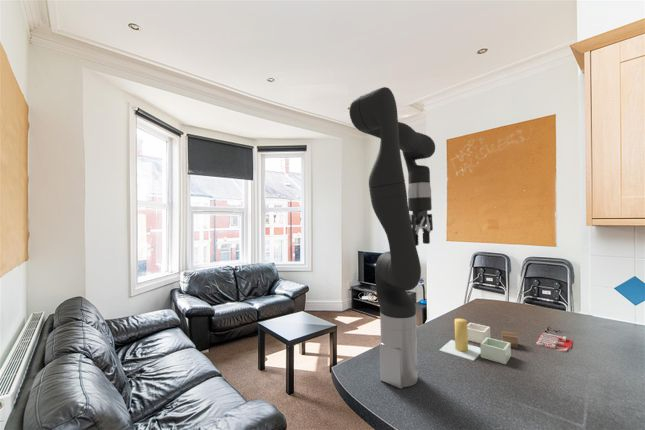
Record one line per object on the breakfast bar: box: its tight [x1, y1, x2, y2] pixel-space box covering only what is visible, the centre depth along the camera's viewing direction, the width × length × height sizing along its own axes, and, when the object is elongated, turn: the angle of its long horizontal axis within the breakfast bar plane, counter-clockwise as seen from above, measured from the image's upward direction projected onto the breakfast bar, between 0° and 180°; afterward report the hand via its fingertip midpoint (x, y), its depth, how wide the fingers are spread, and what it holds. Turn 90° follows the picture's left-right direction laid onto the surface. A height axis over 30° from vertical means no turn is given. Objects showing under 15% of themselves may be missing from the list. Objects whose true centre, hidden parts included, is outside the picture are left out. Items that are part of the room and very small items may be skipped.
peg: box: [454, 318, 469, 352], centre depth 91 cm, size 4×4×9 cm
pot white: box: [467, 322, 491, 344], centre depth 99 cm, size 6×6×4 cm
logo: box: [536, 326, 573, 353], centre depth 99 cm, size 25×2×10 cm
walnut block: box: [500, 330, 519, 349], centre depth 94 cm, size 4×4×4 cm
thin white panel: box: [439, 339, 481, 362], centre depth 91 cm, size 10×10×1 cm
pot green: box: [479, 337, 512, 365], centre depth 86 cm, size 6×6×4 cm
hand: (420, 244), depth 99 cm, fingers open, 8 cm apart
